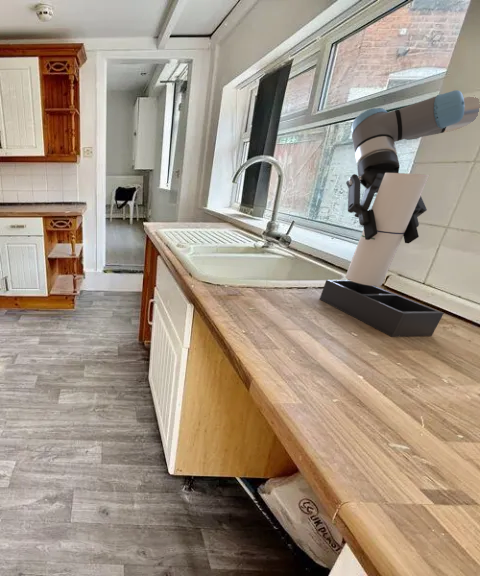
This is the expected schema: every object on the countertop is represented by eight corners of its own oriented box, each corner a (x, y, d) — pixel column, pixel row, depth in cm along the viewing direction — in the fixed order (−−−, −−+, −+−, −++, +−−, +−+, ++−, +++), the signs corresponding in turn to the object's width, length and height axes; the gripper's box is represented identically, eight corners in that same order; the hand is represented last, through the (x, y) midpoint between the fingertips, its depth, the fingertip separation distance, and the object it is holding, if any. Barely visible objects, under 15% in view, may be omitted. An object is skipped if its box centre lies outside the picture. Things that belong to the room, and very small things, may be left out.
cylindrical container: (378, 288, 71) (428, 174, 62) (342, 279, 76) (382, 172, 67) (383, 282, 76) (430, 174, 66) (348, 273, 81) (387, 173, 71)
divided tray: (352, 299, 84) (359, 280, 82) (431, 336, 66) (444, 312, 64) (319, 299, 83) (326, 279, 80) (391, 336, 65) (402, 313, 63)
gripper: (410, 174, 78) (429, 251, 70) (323, 170, 82) (331, 242, 74) (436, 151, 72) (461, 233, 63) (340, 147, 76) (351, 224, 67)
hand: (391, 238), depth 68 cm, fingers closed on cylindrical container, 7 cm apart
